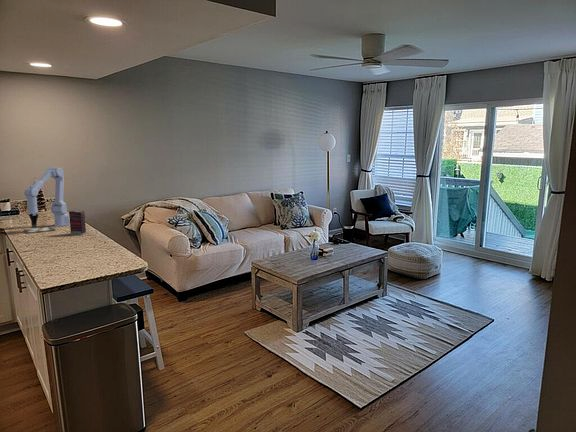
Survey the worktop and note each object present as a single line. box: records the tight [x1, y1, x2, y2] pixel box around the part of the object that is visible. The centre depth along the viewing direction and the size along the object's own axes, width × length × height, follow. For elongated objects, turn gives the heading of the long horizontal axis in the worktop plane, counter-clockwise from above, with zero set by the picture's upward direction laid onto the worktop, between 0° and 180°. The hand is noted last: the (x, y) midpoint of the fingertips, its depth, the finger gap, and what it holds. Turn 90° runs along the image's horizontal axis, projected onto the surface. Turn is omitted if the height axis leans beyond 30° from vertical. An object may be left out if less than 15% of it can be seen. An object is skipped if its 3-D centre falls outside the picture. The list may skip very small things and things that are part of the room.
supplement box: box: [68, 210, 87, 236], centre depth 274 cm, size 9×5×16 cm, turn 84°
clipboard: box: [23, 226, 56, 235], centre depth 284 cm, size 18×14×2 cm
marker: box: [30, 220, 38, 229], centre depth 280 cm, size 3×3×7 cm
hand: (34, 224), depth 281 cm, fingers closed on marker, 3 cm apart
